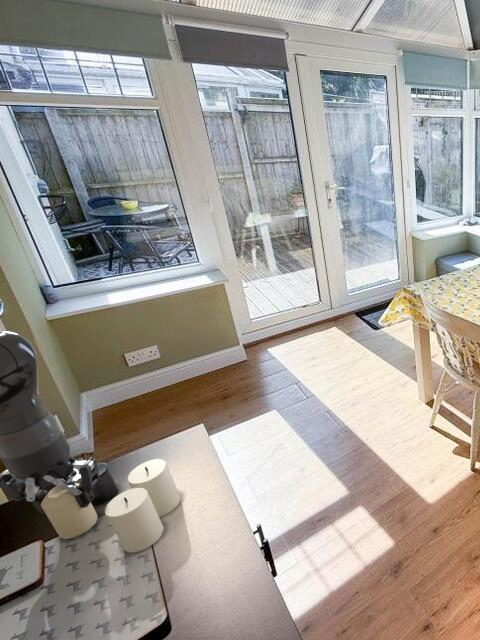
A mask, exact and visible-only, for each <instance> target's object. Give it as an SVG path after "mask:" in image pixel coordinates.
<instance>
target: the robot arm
mask: <svg viewBox="0 0 480 640" xmlns="http://www.w3.org/2000/svg"><path fill="white" fill-rule="evenodd" d="M38 371H39V369H38V355H37V352H36V349H35V347H34V346H33V345H32V343H31V341H30V340H28V339H27V338H26V337H24V336H23V335H21V334H19V333H17V332H13V331H0V460H1V462H2V463H3V464H4V466H5V468H6V469H5V470H3V471H2V472H1V473H0V489H1V490H2V491H4V492H5V493H6V495H8V496H9V497H10V498H11V499H12V500H13V501H14V502H20V501H22V500H26V501H27V502H31V503H32V505H33V506H34V508H35V509H36V511H38V512H39V513H40V514H41V515H46V513H45V512H44V510H43V508H42V507H41V502H42V500H43V499H44V498H45V496H46V495H47V494H48V493H49V491H48V490H46V487H48V486H55V487H56V486H58V487H59V488H61V489H62V490H66V489H67V490H69V491H70V492H72V493H73V494H75V495H74V496H75V498H76V500H77V502H78V504H79V505H80V507H81V508H85V507H87V506H88V505H89V504H90V502H91V501H92V500H93V499H94V494H93V492H92V490H91V489H92V488H93V487H94V486H95V484H96V483H97V482H98V480H99V479H100V476H99V471H98V466H97V463H98V462H97V461H98V460H97V458H96V457H94V456H90V457H88V458H87V459H86V460H77V459H76V458H75V457H73V456H71V450H70V449H71V446H70V444H69V442H68V440H67V438H66V436H65V434H64V432H63V431H62V429H61V426H60V424H59V423H58V421H57V418H56V417H55V416H54V415H53V414H52V413H51V412H50V409H48V406H47V405H46V403H45V401H44V399H43V397H42V395H41V394H40V389H39V372H38ZM68 478H69V479H68ZM67 479H68V480H67ZM76 482H77V483H79V486H77V485H75V483H76ZM18 488H19V490H18Z"/></svg>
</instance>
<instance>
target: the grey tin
mask: <svg viewBox="0 0 480 640" xmlns="http://www.w3.org/2000/svg"><path fill="white" fill-rule="evenodd" d="M103 464H104V465H103ZM97 466H98V471H99V476H100V479H99V480H98V482H97V483H96V484H95V486H94V487H93V488H92V489H91V490H92V492H93V494H94V499H93V500H92V501H91V504H92V506H99V505H103V504H105V503H107V502H110V501H111V500H112V499H114V498H115V497H116V496H117V495H118V492H119V488H118V485H117V484H116V482H115V480H114V478H113V475H112V474H111V472H110V468H109V466H108V464H107V462H97ZM75 483H77V482H75ZM78 484H79V483H78Z"/></svg>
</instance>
